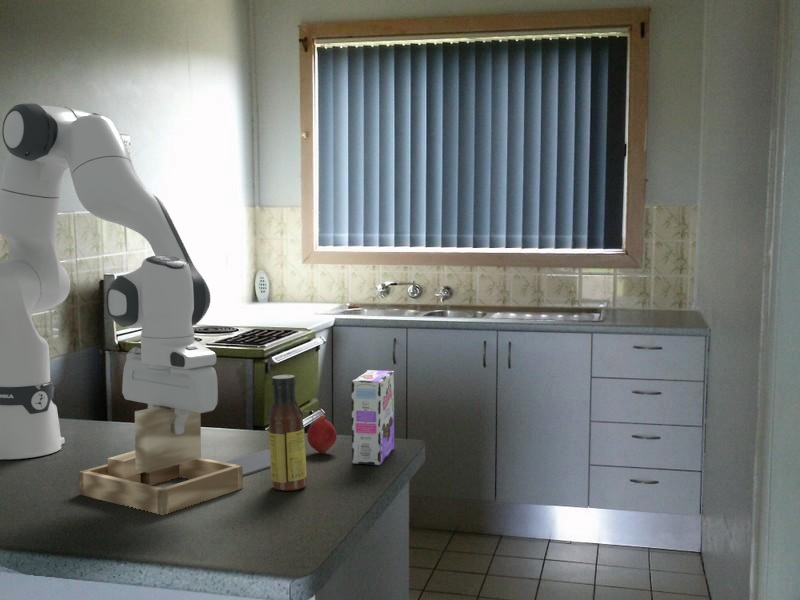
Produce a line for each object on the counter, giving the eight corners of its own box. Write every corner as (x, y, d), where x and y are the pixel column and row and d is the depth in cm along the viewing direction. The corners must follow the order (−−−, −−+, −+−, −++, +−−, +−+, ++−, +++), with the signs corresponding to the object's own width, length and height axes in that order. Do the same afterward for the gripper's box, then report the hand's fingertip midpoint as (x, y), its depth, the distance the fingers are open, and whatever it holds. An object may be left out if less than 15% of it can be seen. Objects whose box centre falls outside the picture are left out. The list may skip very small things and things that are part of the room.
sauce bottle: (308, 482, 173) (306, 373, 171) (304, 492, 166) (303, 379, 165) (271, 482, 173) (270, 373, 171) (267, 492, 166) (265, 379, 165)
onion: (309, 457, 190) (308, 418, 189) (306, 450, 196) (305, 412, 195) (338, 456, 191) (337, 416, 190) (334, 449, 197) (334, 410, 196)
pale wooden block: (135, 469, 161) (134, 411, 160) (188, 455, 171) (188, 400, 170) (147, 472, 160) (146, 413, 159) (200, 457, 170) (200, 402, 169)
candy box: (380, 466, 184) (380, 381, 182) (350, 464, 185) (350, 380, 183) (395, 448, 197) (395, 369, 196) (367, 447, 198) (367, 368, 197)
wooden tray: (79, 494, 166) (78, 471, 165) (161, 470, 181) (160, 449, 180) (163, 515, 154) (162, 491, 154) (242, 488, 169) (242, 465, 169)
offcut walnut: (134, 484, 173) (134, 468, 173) (164, 475, 179) (163, 459, 178) (149, 488, 171) (149, 471, 170) (179, 478, 176) (178, 462, 176)
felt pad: (207, 469, 181) (207, 467, 181) (267, 451, 195) (267, 449, 195) (242, 476, 176) (242, 474, 176) (301, 457, 190) (301, 455, 190)
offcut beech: (108, 475, 168) (107, 458, 168) (142, 464, 175) (141, 448, 175) (124, 478, 166) (123, 461, 166) (158, 467, 173) (157, 451, 173)
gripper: (112, 348, 167) (114, 426, 168) (195, 359, 155) (196, 443, 157) (141, 344, 172) (142, 420, 173) (223, 355, 161) (224, 436, 162)
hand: (168, 431), depth 165 cm, fingers closed on pale wooden block, 3 cm apart
